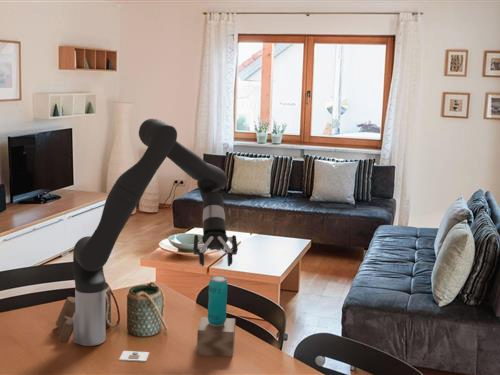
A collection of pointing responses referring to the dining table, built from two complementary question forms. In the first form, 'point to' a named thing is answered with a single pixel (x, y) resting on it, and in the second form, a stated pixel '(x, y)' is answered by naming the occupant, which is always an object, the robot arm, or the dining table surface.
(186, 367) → the dining table surface
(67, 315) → the wooden block set
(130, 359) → the tower plan card
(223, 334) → the walnut base brick
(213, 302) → the beverage can
